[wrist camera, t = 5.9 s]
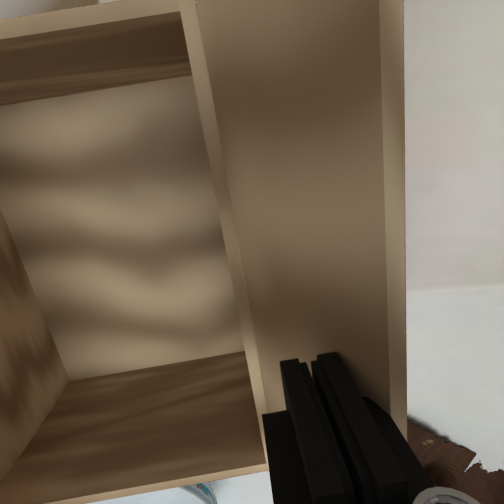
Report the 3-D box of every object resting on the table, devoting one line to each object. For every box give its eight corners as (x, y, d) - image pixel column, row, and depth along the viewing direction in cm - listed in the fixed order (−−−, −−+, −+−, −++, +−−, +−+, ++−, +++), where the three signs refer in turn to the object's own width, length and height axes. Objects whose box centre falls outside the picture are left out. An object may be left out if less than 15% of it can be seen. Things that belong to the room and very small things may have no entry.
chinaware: (43, 451, 33) (-9, 539, 26) (163, 375, 31) (143, 446, 24) (142, 531, 37) (121, 625, 30) (251, 468, 36) (257, 552, 28)
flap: (370, -303, 4) (401, -292, 4) (196, 3, 12) (209, 4, 12) (398, 677, 11) (408, 667, 11) (277, 467, 19) (285, 463, 19)
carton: (-45, 105, 23) (-307, 67, 12) (210, 64, 23) (192, -11, 12) (68, 383, 31) (-26, 523, 19) (259, 349, 31) (277, 468, 20)
